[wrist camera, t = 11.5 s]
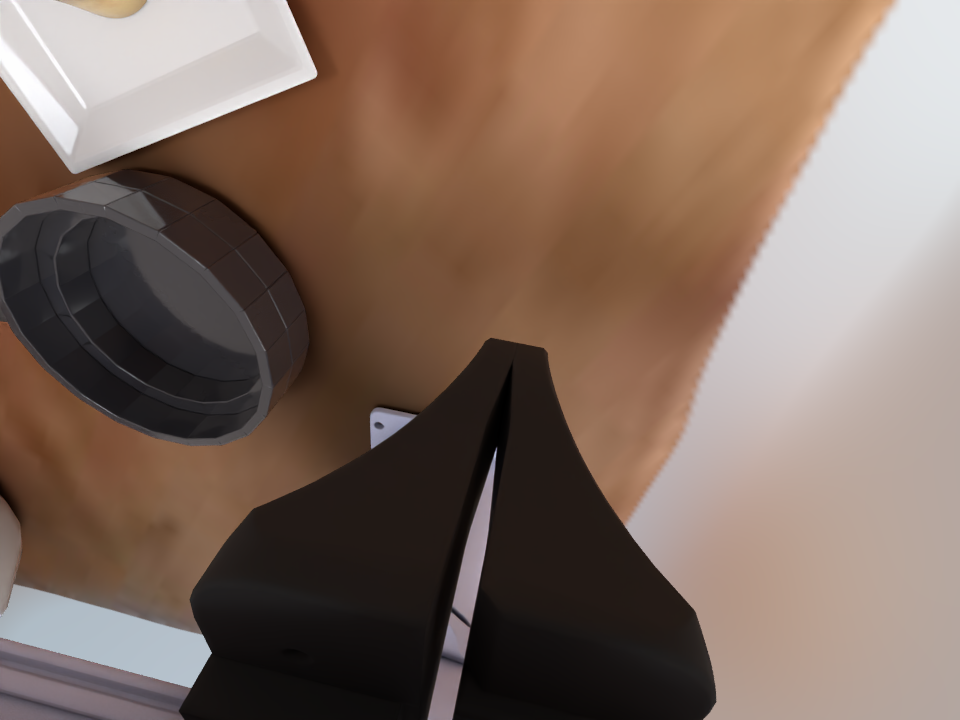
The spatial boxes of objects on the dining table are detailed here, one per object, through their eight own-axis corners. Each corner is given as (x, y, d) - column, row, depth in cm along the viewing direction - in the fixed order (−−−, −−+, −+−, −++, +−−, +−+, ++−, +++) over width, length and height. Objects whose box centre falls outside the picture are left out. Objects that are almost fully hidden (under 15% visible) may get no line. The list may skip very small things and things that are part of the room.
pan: (323, 413, 28) (288, 468, 24) (119, 369, 28) (59, 417, 25) (298, 193, 20) (242, 231, 17) (23, 145, 21) (-78, 172, 18)
